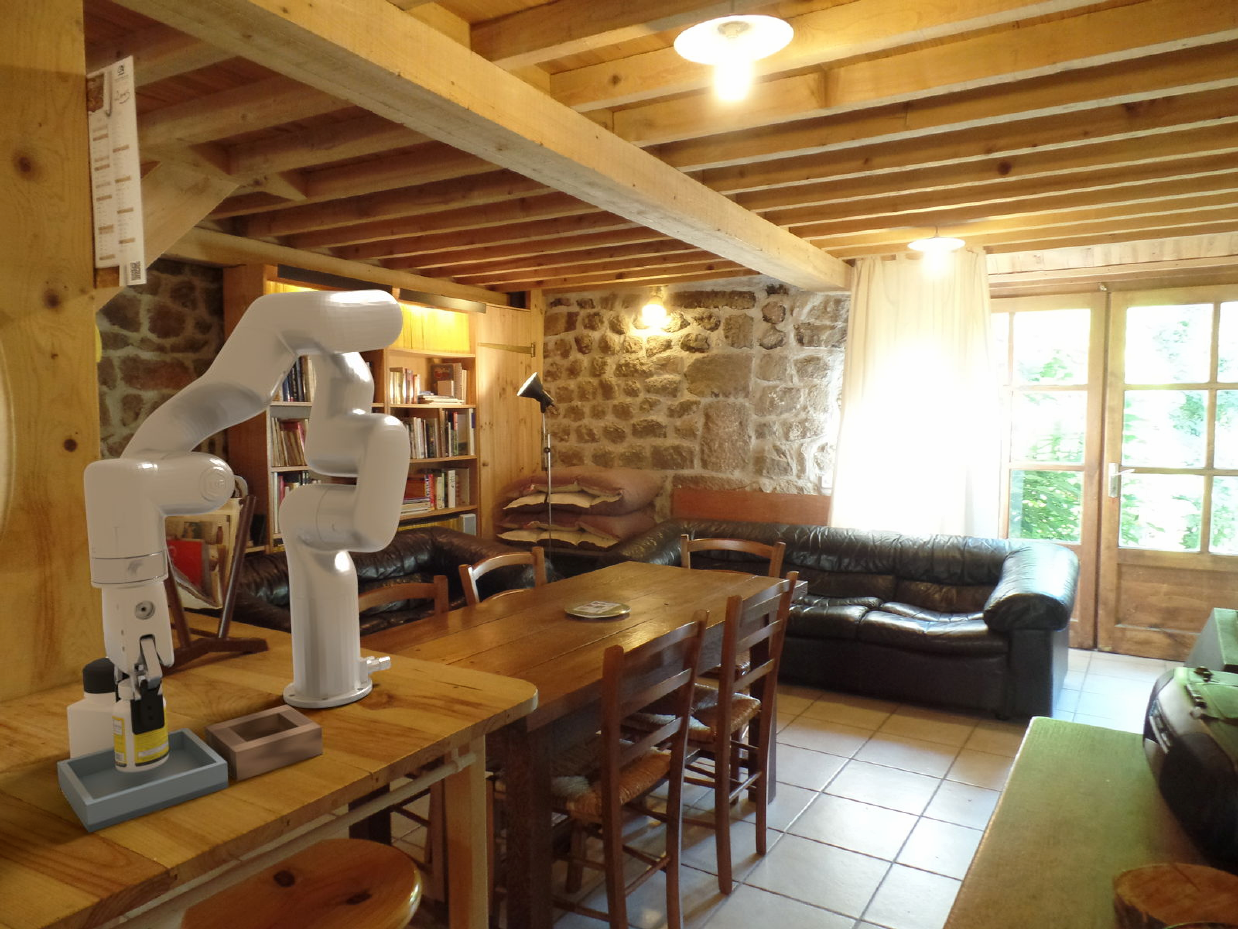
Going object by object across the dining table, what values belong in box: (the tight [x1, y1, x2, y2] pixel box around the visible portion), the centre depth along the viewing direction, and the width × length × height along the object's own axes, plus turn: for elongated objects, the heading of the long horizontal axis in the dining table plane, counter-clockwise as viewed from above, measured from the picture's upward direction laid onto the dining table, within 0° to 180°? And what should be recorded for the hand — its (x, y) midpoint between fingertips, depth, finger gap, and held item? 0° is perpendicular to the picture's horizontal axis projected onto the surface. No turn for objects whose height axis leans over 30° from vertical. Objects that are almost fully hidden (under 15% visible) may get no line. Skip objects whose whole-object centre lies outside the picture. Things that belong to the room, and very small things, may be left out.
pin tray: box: [56, 726, 229, 834], centre depth 98 cm, size 14×14×3 cm
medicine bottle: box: [66, 656, 118, 759], centre depth 107 cm, size 7×7×12 cm
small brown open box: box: [204, 704, 324, 782], centre depth 106 cm, size 10×10×4 cm
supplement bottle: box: [112, 675, 169, 772], centre depth 97 cm, size 5×5×10 cm
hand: (140, 721), depth 97 cm, fingers closed on supplement bottle, 5 cm apart
